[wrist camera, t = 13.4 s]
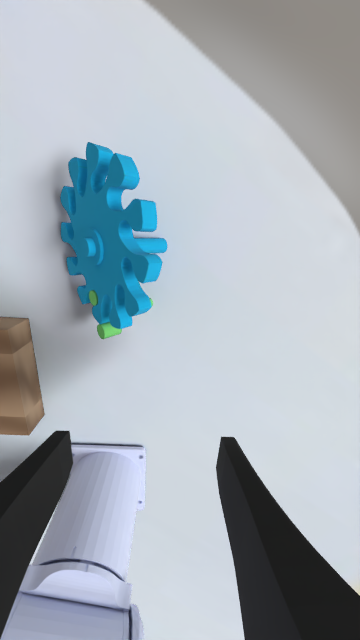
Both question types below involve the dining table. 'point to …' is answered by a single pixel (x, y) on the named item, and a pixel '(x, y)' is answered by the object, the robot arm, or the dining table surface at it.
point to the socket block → (18, 379)
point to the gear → (110, 238)
